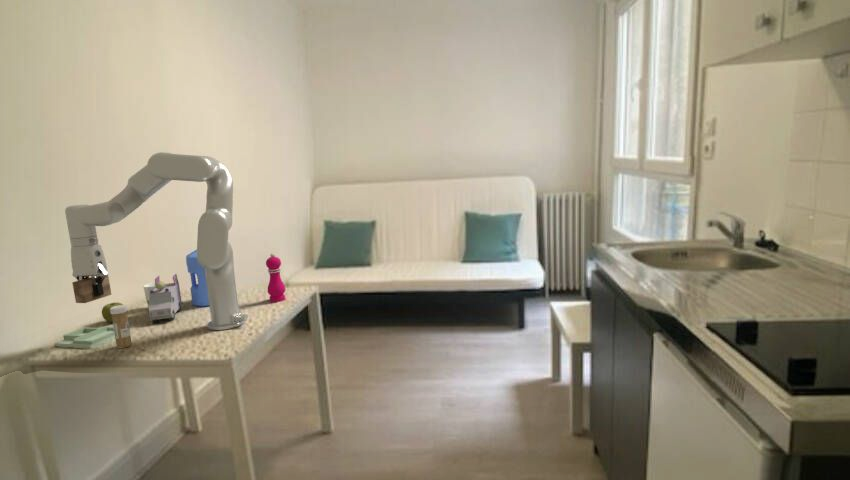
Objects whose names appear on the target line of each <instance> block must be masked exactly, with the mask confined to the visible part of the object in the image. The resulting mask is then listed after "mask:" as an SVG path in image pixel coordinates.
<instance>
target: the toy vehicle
mask: <svg viewBox="0 0 850 480" xmlns="http://www.w3.org/2000/svg"><path fill="white" fill-rule="evenodd" d="M172 280H173V282H171V283H165V282H164V281H161V280H160V275H157V276H156V278H154V283H155V287H156V288H155V289H154V290H151V291H150V293H149V297H150V303H149V300H147V301H146V303H147V302H148V304H147V306H148V305H149V304H150V307H149V309H148V316H149V321H151V322H152V323H157V322H158V320H163V319H164V320H165V319H168V320H169V321H174V320H175V319H176V318H175V317H176V313H179V312H181V309H182V306H183V301H182V296H181V289H180V282H179V280H178V275H177V273H175V274H174V275H173V276H172ZM163 282H164V283H165V284H164V283H163Z"/></svg>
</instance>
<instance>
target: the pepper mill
mask: <svg viewBox="0 0 850 480" xmlns="http://www.w3.org/2000/svg"><path fill="white" fill-rule="evenodd" d="M275 255H276V254H275V253H274V252H273V253H270V257H268V258H267V259H266V261H265V266H266V268H268V269H267V272H268V273H269V283H268V286H267V294H268V295H269V302H271V303H278V302H280V303H281V302H282V301H285V300H286V295H285V292H286V286H285V284H284V282H283V280H282V278H281V266H282V260H281V258H279V257H277V256H275Z"/></svg>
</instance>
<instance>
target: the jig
mask: <svg viewBox="0 0 850 480" xmlns="http://www.w3.org/2000/svg"><path fill="white" fill-rule="evenodd" d="M62 338H63V339H62V340H60V341H57V342H54V343H53V344H54V347H55V346H61V347H60V348H68V347H74V348H73V349H88V350H89V349H90V350H91V349H94V348H96V347H99V346H101V345H104V344H105V343H108V342H110V341H113V340H116V338H115V334H114V328H113V326H110V325H105V326H103V327H86V326H84V327H81V328H79V329H76V330H74V331H71V332H68V333H66V334H64V335H62Z"/></svg>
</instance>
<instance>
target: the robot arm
mask: <svg viewBox="0 0 850 480" xmlns="http://www.w3.org/2000/svg"><path fill="white" fill-rule="evenodd" d="M232 177H233V176H232V175H231V173H230V170H229V169H228V168H227V166H226V165H225V164H224V163H222V162H221V161H219V160H218V159H216V158H213V157H212V156H208V155H207V156H206V155H194V154H193V155H191V154H178V153H177V154H176V153H170V152H161V151H159V152H156V153H154V154H152V155H151V156H150V157H149V159H148V161H147V164H146V165H144V166H143V167H142V168H141V169H139V170H138V171H137V172H136V173H134V174H132V175H131V177H129V178H128V181H127V184H126V186H125V187H124V189H122V190H121V191H120V192H119V193H117V194H116V195H115V196H114V197H112V198H111V199H110V200H108V201H106V202H101V203H100V202H99V203H95V204H77V205H76V204H75V205H68V206H67V207H65V210H64V211H65V212H64V213H65V219H66V224H67V230H68V236H69V241H70V261H71V269H72V274H71V275H72V277H73V278H75V279H76V281H79V280H83V279H86V278H90V277H92V280H93V283H94V285H92V286H93V291H94V296H95V297H97V296H100V295H103V294H104V292H103V286H102V283H103V280H104V279H105V278H106V277H107V276H108V277H109V273H108V266H107V261H106V258H105V254H104V250H103V248H102V246H101V245H100V244H99V238H98V235H97V234H98V232H97V229H96V228H97V227H107V226H110V225H113V224H116V223H119V222H121V221H123V220H124V219H125V218H127V217H128V216H129V215H131V214H132V213H133V212H135V210H137V209H138V208H140V207H141V206H142V205H143V204H144V203H145V202H146V201H148V200H149V199H150V198H151V197H152V196H153V195H155V194H156V193H157V192H158V191H160V190H161V189H162V188H164V187H165V186H166V185H167V184H169V183H170V182H171V181H179V182H180V181H183V182H184V181H185V182H195V183H202V182H205V183H206V185H207V189H206V196H205V197H206V204H205V211H204V212H203V213H202V214H201V215H200V218H199V220H198V225H197V236H196V237H197V238H196V239H197V240H196V250H197V259H198V262H199V264H200V265H201V266H202V267H204V268H205V275H206V283H207V291H208V299H209V306H208V307H209V313H210V320H211V321H209V322H208V323H207V325H206V327H207V329H209V330H211V331H212V330H213V331H223V330H229V329H233V328H236V327H239V326H241V325H243V324H245V322H247V321H248V318H249V314H246V313H245V314H243V312H242V310H241V309H240V307H239V300H238V299H239V298H238V292H237V284H236V276H235V266H234V265H235V264H234V252H233V247H232V245H231V243H230V242H229V231H230V229H231V228H232V227H233V210H234V209H233V203H234V201H233V199H234V196H233V195H234V181H233V178H232ZM97 276H98V278H97V279H96V277H97Z"/></svg>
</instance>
